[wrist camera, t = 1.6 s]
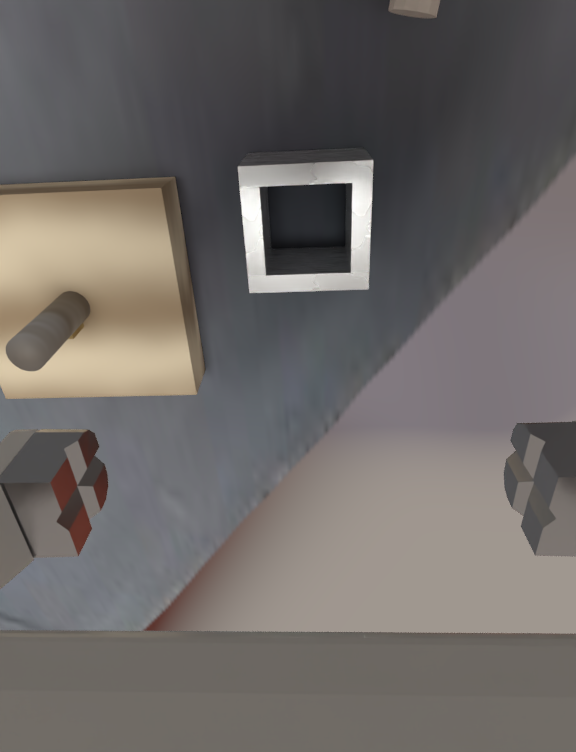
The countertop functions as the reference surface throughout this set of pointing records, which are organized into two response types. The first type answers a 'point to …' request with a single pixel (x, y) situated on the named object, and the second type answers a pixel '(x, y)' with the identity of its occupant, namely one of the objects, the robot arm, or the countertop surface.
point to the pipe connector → (415, 8)
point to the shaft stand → (96, 291)
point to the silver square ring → (313, 263)
